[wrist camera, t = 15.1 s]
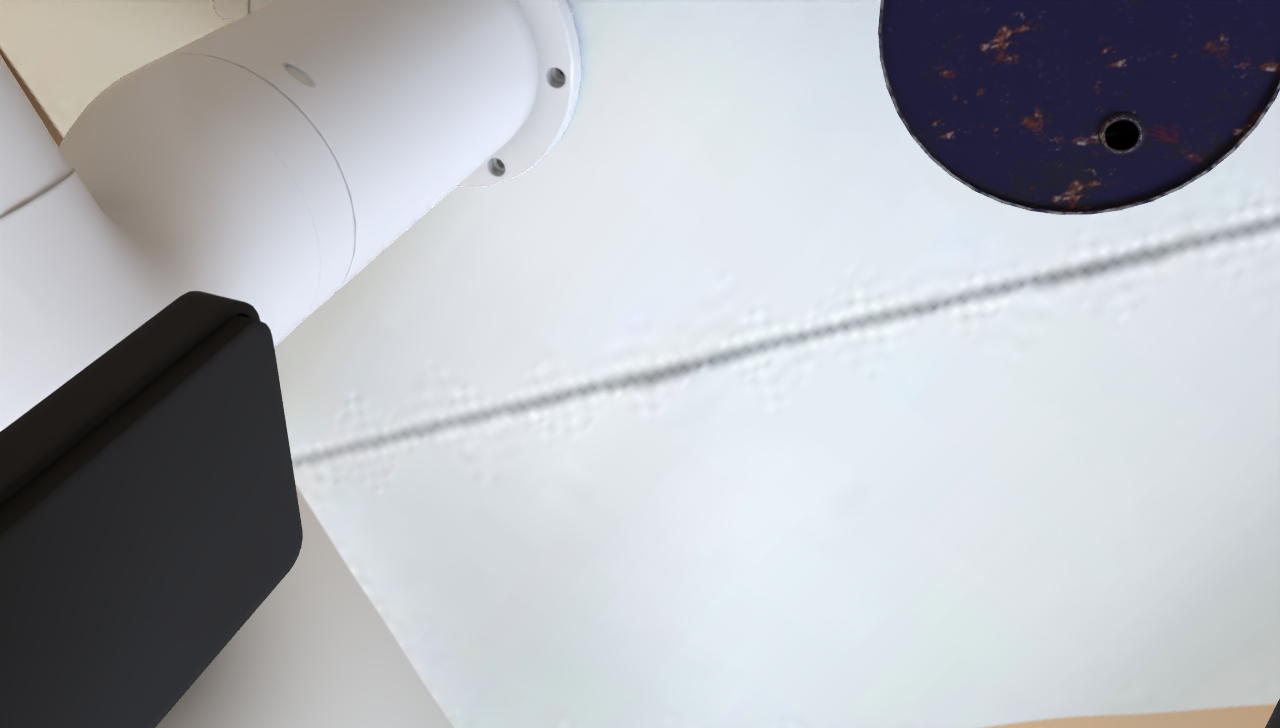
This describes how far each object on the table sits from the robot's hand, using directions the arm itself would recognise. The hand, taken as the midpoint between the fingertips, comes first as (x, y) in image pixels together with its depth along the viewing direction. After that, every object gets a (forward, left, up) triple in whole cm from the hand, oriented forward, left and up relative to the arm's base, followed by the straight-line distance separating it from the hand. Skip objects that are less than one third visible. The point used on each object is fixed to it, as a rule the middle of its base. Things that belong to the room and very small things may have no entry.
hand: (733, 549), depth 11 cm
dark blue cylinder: (+2, -2, -38) cm, 38 cm away
